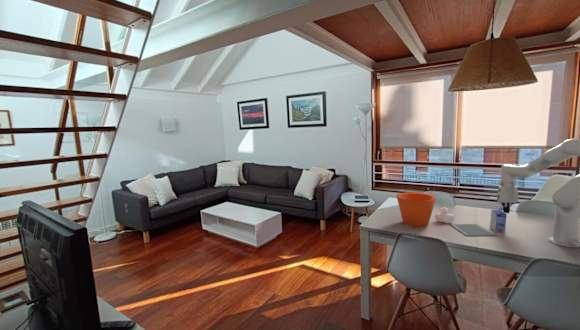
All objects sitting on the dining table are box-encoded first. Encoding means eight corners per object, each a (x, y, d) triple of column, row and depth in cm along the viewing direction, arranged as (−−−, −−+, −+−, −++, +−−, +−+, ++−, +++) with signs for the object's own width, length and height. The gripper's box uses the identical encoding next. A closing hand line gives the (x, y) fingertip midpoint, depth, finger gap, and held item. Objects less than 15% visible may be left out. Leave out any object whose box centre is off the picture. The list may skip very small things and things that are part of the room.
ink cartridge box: (505, 233, 170) (507, 210, 168) (495, 232, 172) (496, 210, 170) (499, 227, 179) (500, 206, 178) (489, 227, 181) (490, 205, 180)
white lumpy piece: (454, 225, 192) (453, 210, 197) (455, 222, 186) (454, 206, 191) (434, 223, 198) (434, 209, 203) (435, 220, 192) (435, 205, 197)
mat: (497, 236, 166) (497, 235, 166) (466, 236, 168) (466, 235, 168) (477, 224, 186) (477, 223, 186) (449, 225, 188) (450, 224, 188)
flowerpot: (410, 231, 179) (411, 202, 176) (389, 220, 203) (389, 194, 201) (444, 227, 184) (444, 198, 181) (419, 216, 208) (419, 191, 206)
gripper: (499, 185, 169) (497, 214, 171) (525, 185, 167) (523, 214, 170) (491, 183, 176) (489, 211, 178) (516, 182, 175) (514, 210, 177)
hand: (506, 212), depth 174 cm, fingers closed
